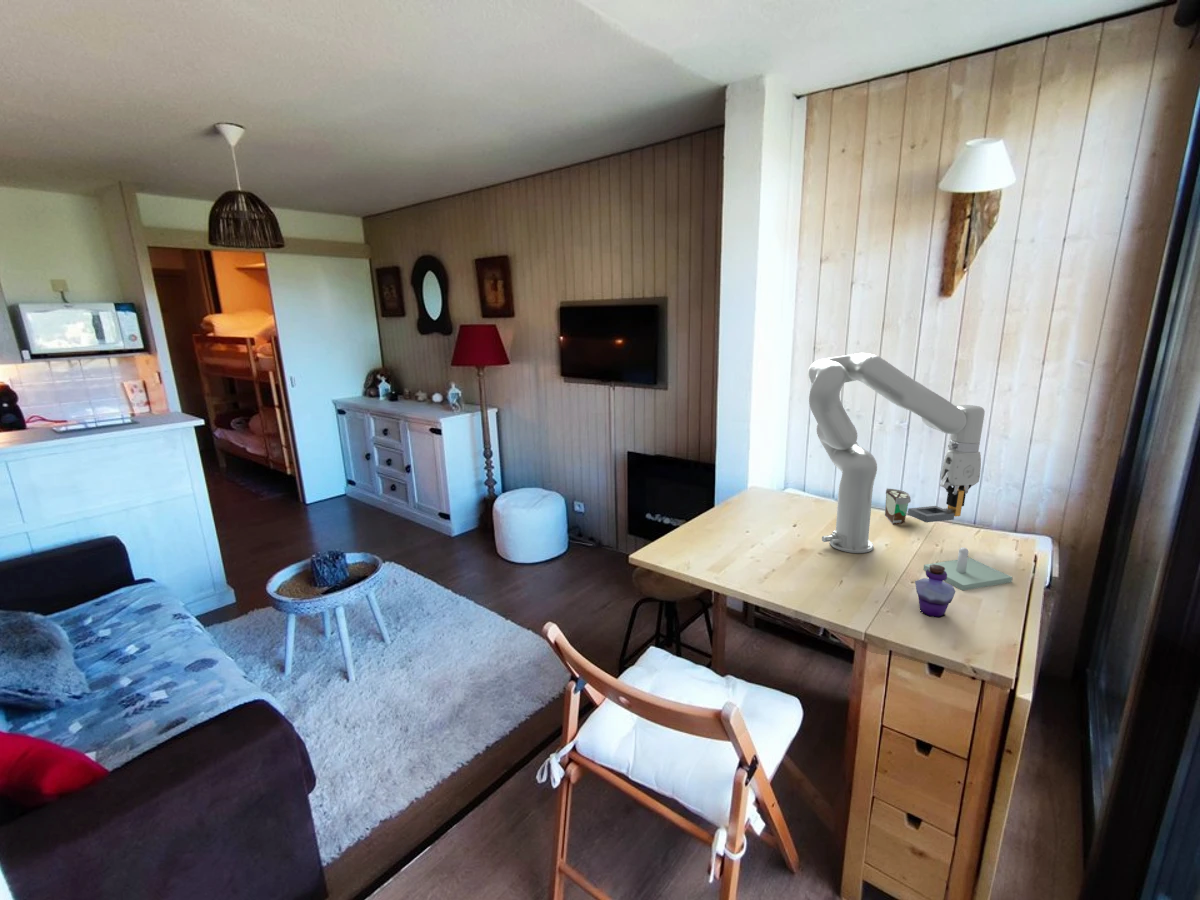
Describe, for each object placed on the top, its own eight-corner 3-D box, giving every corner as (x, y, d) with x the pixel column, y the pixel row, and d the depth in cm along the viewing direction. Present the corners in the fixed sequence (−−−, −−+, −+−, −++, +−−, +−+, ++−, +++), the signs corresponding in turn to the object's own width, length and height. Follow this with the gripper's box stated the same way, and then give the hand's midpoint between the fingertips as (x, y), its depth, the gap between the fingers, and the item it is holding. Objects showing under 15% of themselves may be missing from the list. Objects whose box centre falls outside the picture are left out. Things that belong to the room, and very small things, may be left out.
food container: (913, 527, 187) (916, 499, 185) (894, 526, 189) (896, 498, 186) (901, 514, 199) (904, 488, 197) (883, 514, 200) (886, 487, 198)
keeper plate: (962, 590, 144) (966, 560, 142) (923, 569, 156) (926, 541, 154) (1011, 582, 147) (1016, 552, 145) (969, 562, 160) (973, 534, 158)
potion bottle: (937, 602, 138) (943, 558, 136) (960, 620, 130) (967, 573, 127) (904, 603, 138) (909, 559, 136) (925, 622, 130) (930, 575, 127)
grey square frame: (925, 522, 162) (929, 496, 160) (907, 514, 169) (911, 489, 167) (966, 518, 165) (970, 493, 163) (946, 510, 172) (950, 486, 170)
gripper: (952, 451, 158) (943, 511, 162) (996, 448, 162) (986, 507, 166) (931, 445, 165) (923, 503, 169) (974, 442, 169) (965, 499, 173)
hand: (954, 504), depth 168 cm, fingers closed on grey square frame
